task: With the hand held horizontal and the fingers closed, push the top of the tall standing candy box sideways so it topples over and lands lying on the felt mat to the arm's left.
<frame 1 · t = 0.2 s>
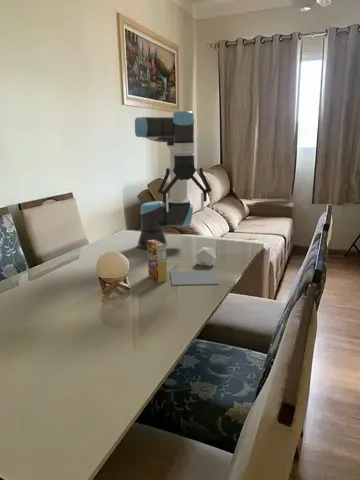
hand: (184, 210, 151), 27 cm above the table, tool pointing down, fingers open, 13 cm apart
candy box: (157, 279, 155), on the table
felt mat: (193, 277, 156), on the table
die: (206, 265, 173), on the table
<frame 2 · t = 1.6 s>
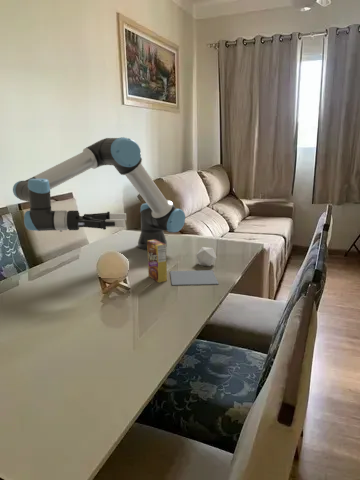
hand: (125, 219, 149), 24 cm above the table, tool horizontal, fingers open, 12 cm apart
nothing on the table moved.
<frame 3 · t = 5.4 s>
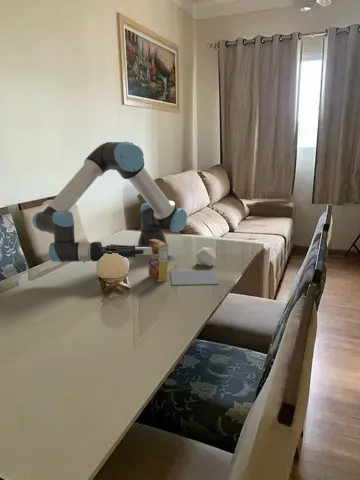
hand: (151, 250, 152), 12 cm above the table, tool horizontal, fingers closed
candy box: (157, 278, 155), on the table, touching gripper
everything else where it was.
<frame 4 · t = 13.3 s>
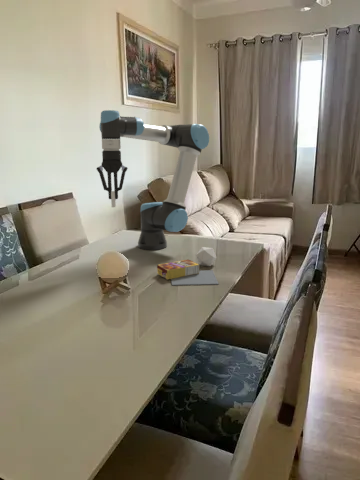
hand: (113, 206, 165), 26 cm above the table, tool pointing down, fingers closed
candy box: (161, 271, 156), point 3 cm above the table, touching felt mat
everything else where it was.
at the end: candy box tilted 91°; candy box inside the target area (9.3 cm from its centre), point 2.6 cm above the table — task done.
